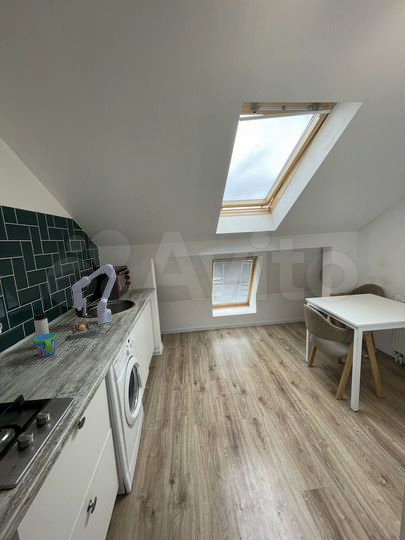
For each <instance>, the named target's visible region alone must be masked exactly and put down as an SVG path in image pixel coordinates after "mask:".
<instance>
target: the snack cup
mask: <svg viewBox="0 0 405 540" xmlns="http://www.w3.org/2000/svg"><path fill="white" fill-rule="evenodd" d="M57 337H58V335H57V333H55V332H49V333H47V334H43V335H40V336H37V337H36V336H35V337H34V338H33V339H32V342H33V344H34V346H35V349H36V352H37V355H38V356H39V357H40V358H45V357H50V356H52V355H54V354H55V353H56V347H57V344H56V343H57Z"/></svg>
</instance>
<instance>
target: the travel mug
mask: <svg viewBox="0 0 405 540" xmlns="http://www.w3.org/2000/svg"><path fill="white" fill-rule="evenodd" d="M33 322H34V328H35V337H37V336H40V335H43V334H47V333H50V330H49V322H48V315H47V312H41V313H37V314H35V315H33Z"/></svg>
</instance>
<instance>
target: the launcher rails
mask: <svg viewBox="0 0 405 540" xmlns="http://www.w3.org/2000/svg"><path fill="white" fill-rule="evenodd" d="M72 326H73V334H77V331H76V330H77V328H76V325H72ZM86 326H87V328H88V331H91V330H92V329H91V325H90V322H86Z"/></svg>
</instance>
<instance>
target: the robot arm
mask: <svg viewBox="0 0 405 540" xmlns="http://www.w3.org/2000/svg"><path fill="white" fill-rule="evenodd" d="M101 274H106V275H107V277H108V281H107V284H106V286H105V288H104V291H103V294H102V296H101V299H100V300H99V301H98V302H97V303H98V304H97V305H96V309H97V310H96V314H97V320H96V322H97V324H98V325H101V324H105V323H110V322H113V320H112V318H113V317H112V311H111V309H110V308H108V307H107V305H108V299H109V297H110V294H111V292H112V289H113V287H114V285H115V282H116V280H117V279H116V278H117V274H116V271H115V267H114V266H113V265H112V264H111V263H107V264H105V265H103V266H101V267H100V268H98V269H97V270H95V271H94V272H93V273H91V274H90V275H89V276H88V275H87V276H82V277H81V279H79V280H77V281H76V282H75V283H74V284H73V285H71V290H72V298H73V304H74V305H72V308H74V311H75V313H76V314H77V315H76V316H77V318H79V319H81V318H82V317H83V311H84V301H83V292H82V288H85V287H87V286H88V285H89V284H90V283H91V282H92V280H93V279H94V278H96V277H98V276H100V275H101Z"/></svg>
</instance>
